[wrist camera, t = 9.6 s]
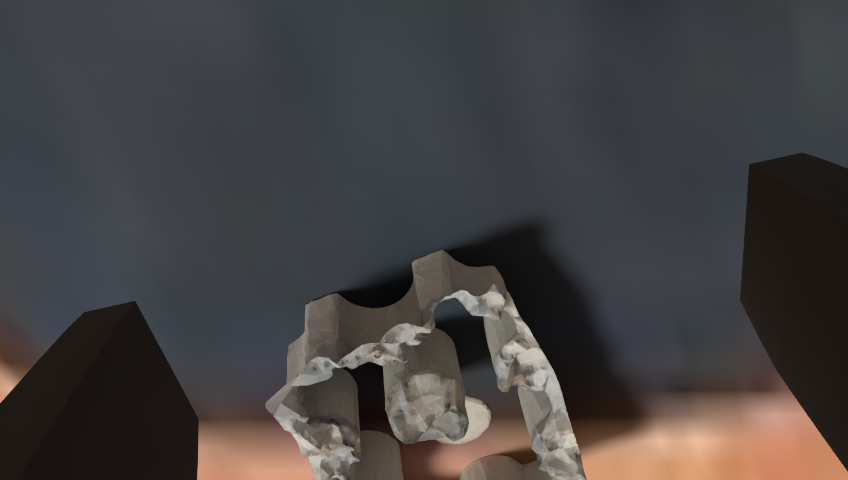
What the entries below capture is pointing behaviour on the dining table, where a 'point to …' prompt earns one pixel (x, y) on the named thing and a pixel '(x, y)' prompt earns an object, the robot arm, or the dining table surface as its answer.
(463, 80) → the dining table surface
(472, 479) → the egg carton
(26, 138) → the dining table surface
